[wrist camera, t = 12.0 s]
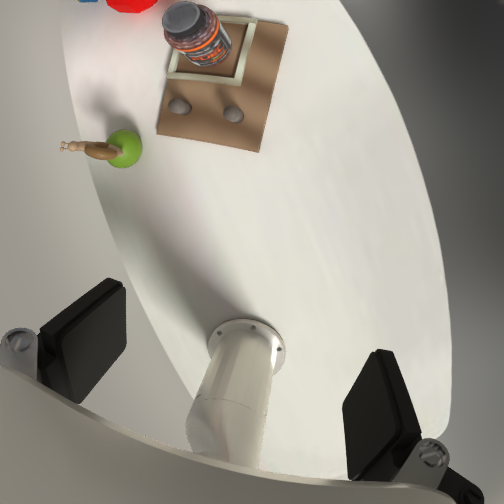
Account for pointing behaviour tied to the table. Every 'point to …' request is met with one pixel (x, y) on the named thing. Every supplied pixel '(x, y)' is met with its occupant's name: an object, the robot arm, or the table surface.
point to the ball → (131, 5)
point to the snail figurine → (112, 148)
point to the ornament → (87, 0)
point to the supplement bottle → (196, 34)
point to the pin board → (226, 88)
